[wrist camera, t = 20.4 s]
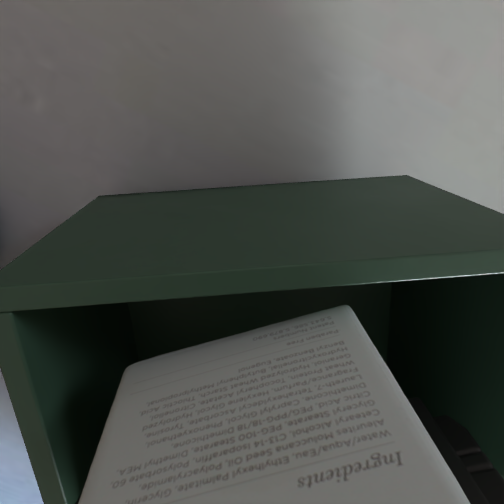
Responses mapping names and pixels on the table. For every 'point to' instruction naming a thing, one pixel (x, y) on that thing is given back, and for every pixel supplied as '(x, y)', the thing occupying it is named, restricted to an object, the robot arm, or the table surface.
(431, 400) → the bin
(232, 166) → the table surface
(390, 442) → the product carton
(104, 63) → the table surface
